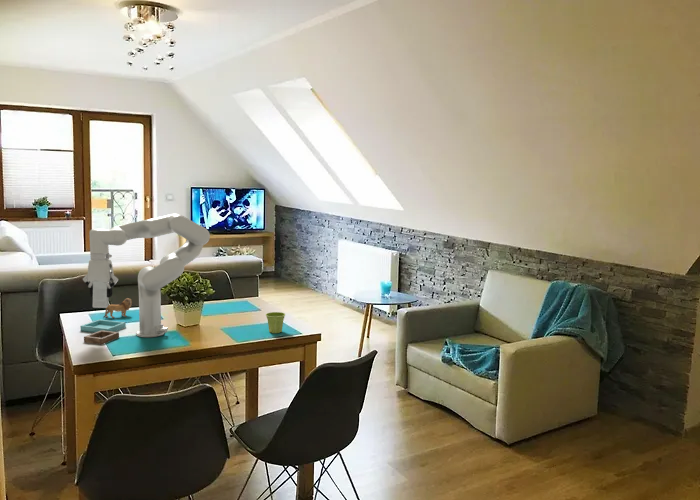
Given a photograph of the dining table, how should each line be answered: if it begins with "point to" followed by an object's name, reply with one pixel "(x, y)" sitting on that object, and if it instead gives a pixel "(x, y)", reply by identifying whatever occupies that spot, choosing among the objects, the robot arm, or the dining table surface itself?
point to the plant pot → (275, 321)
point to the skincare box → (100, 295)
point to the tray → (103, 326)
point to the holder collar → (105, 334)
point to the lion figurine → (119, 308)
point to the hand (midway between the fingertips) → (101, 296)
